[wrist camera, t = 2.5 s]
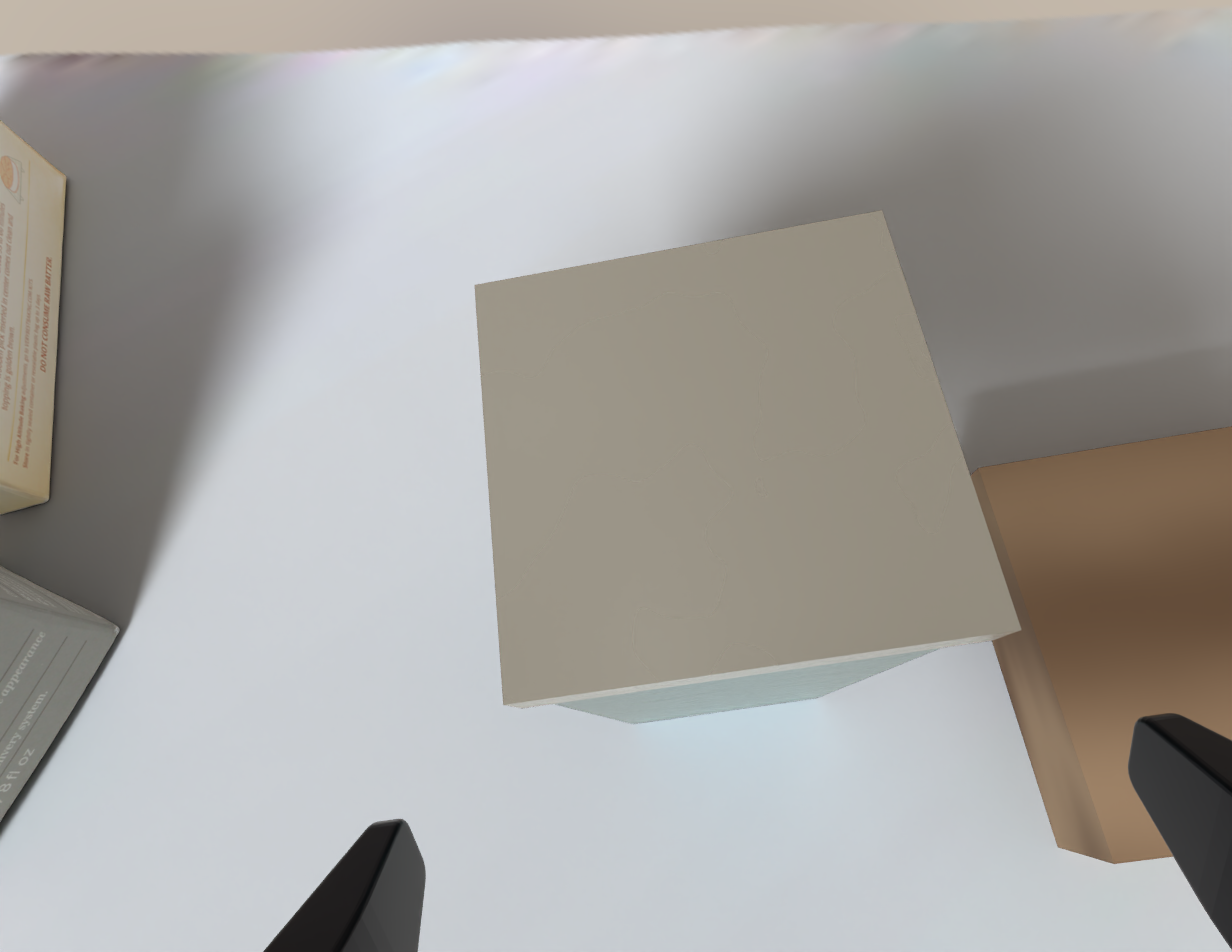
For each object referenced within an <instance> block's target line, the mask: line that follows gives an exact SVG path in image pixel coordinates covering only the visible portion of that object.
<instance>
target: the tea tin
mask: <svg viewBox="0 0 1232 952" xmlns="http://www.w3.org/2000/svg"><path fill="white" fill-rule="evenodd" d="M475 299H476V313H477V328H478V342H479V357H480V371H481V386H482V401H483V415H484V430H485V444H486V459H487V474H488V488H489V503H490V517H491V532H492V547H493V561H494V576H495V590H496V605H497V620H498V634H499V649H500V663H501V678H502V693H503V705H506V706H511V707H517V708H529V707H536V706H543V705H550V704H555V705H559V706H563V707H567V708H571V709H575V710H579V711H583V712H587V713H591V714H595V715H599V716H603V717H607V718H611V719H615V720H619V721H623V722H627V723H631V724H638V723H645V722H652V721H659V720H666V719H673V718H680V717H687V716H694V715H701V714H708V713H715V712H723V711H730V710H737V709H744V708H751V707H758V706H765V705H772V704H779V703H786V702H793V701H800V700H807V699H815V698H819V697H821V696H824V695H826V694H829V693H831V692H834V691H836V690H839V689H841V688H844V687H846V686H849V685H851V684H854V683H856V682H859V681H861V680H864V679H866V678H868V677H871V676H873V675H876V674H878V673H881V672H883V671H886V670H888V669H891V668H893V667H896V666H898V665H901V664H903V663H906V662H908V661H911V660H913V659H916V658H918V657H921V656H923V655H926V654H928V653H931V652H933V651H935V650H938V649H940V648H945V647H952V646H959V645H966V644H973V643H980V642H987V641H992V640H995V639H998V638H1001V637H1003V636H1006V635H1009V634H1012V633H1015V632H1017V631H1020V630H1021V627H1020V624H1019V621H1018V618H1017V615H1016V611H1015V608H1014V605H1013V602H1012V599H1011V596H1010V593H1009V590H1008V587H1007V584H1006V581H1005V578H1004V575H1003V572H1002V569H1001V566H1000V563H999V560H998V557H997V554H996V551H995V548H994V545H993V542H992V539H991V536H990V533H989V530H988V527H987V524H986V521H985V518H984V515H983V512H982V509H981V506H980V503H979V500H978V497H977V494H976V491H975V488H974V485H973V482H972V479H971V476H970V473H969V470H968V467H967V464H966V461H965V458H964V455H963V452H962V449H961V446H960V443H959V440H958V437H957V434H956V431H955V428H954V425H953V422H952V419H951V416H950V413H949V410H948V407H947V404H946V401H945V398H944V395H943V392H942V389H941V386H940V383H939V380H938V377H937V374H936V371H935V368H934V365H933V362H932V359H931V356H930V353H929V350H928V347H927V344H926V341H925V338H924V335H923V332H922V329H921V326H920V323H919V320H918V317H917V314H916V311H915V308H914V305H913V302H912V299H911V296H910V293H909V290H908V287H907V284H906V281H905V278H904V275H903V272H902V269H901V266H900V263H899V260H898V257H897V254H896V251H895V248H894V245H893V242H892V239H891V235H890V232H889V229H888V226H887V223H886V220H885V217H884V214H883V211H882V210H880V211H875V212H869V213H864V214H858V215H853V216H847V217H842V218H837V219H831V220H826V221H820V222H815V223H809V224H804V225H799V226H793V227H788V228H782V229H777V230H771V231H766V232H761V233H755V234H750V235H744V236H739V237H733V238H728V239H723V240H717V241H712V242H706V243H701V244H695V245H690V246H685V247H679V248H674V249H668V250H663V251H657V252H652V253H647V254H641V255H636V256H630V257H625V258H619V259H614V260H609V261H603V262H598V263H592V264H587V265H581V266H576V267H570V268H565V269H560V270H554V271H549V272H543V273H538V274H532V275H527V276H522V277H516V278H511V279H505V280H500V281H494V282H489V283H484V284H478V285H475Z"/></svg>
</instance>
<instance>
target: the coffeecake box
mask: <svg viewBox="0 0 1232 952" xmlns="http://www.w3.org/2000/svg"><path fill="white" fill-rule="evenodd" d="M65 190H66V176H65V175H64V174H63V173H62V172H60V171H59V170H57V169H56V168H55V167H54V166H53V165H51V164H50V163H49V162H48V161H47V160H46V159H44V158H43V157H42V156H41V155H40V154H39V153H38V152H36V151H35V150H34V149H33V148H32V147H31V146H29V145H28V144H27V143H26V142H25V141H24V140H22V139H21V138H20V137H19V136H18V135H17V134H15V133H14V132H13V131H12V130H11V129H10V128H8V127H7V126H6V125H5V124H4V123H3V122H2V121H1V120H0V515H1V514H5V513H8V512H12V511H16V510H20V509H24V508H27V507H30V506H34V505H37V504H41V503H45V502H47V501H48V500H49V488H50V465H51V446H52V428H53V413H54V388H55V373H56V357H57V337H58V316H59V299H60V283H61V266H62V241H63V230H64V208H65Z"/></svg>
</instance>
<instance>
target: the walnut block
mask: <svg viewBox="0 0 1232 952" xmlns="http://www.w3.org/2000/svg"><path fill="white" fill-rule="evenodd" d="M971 479H972V482H973V485H974V488H975V491H976V494H977V497H978V500H979V503H980V506H981V509H982V512H983V515H984V518H985V521H986V524H987V527H988V530H989V533H990V536H991V539H992V542H993V545H994V548H995V551H996V554H997V557H998V560H999V563H1000V566H1001V569H1002V572H1003V575H1004V578H1005V581H1006V584H1007V587H1008V590H1009V593H1010V596H1011V599H1012V602H1013V605H1014V608H1015V611H1016V615H1017V618H1018V621H1019V624H1020V627H1021V630H1020V631H1017V632H1015V633H1012V634H1009V635H1006V636H1003V637H1001V638H998V639H995V640H992V642H993V646H994V649H995V652H996V655H997V658H998V661H999V664H1000V667H1001V671H1002V674H1003V677H1004V680H1005V683H1006V686H1007V689H1008V692H1009V696H1010V699H1011V702H1012V705H1013V708H1014V711H1015V714H1016V718H1017V721H1018V724H1019V727H1020V730H1021V733H1022V736H1023V739H1024V743H1025V746H1026V749H1027V752H1028V755H1029V758H1030V761H1031V765H1032V768H1033V771H1034V774H1035V777H1036V780H1037V783H1038V786H1039V790H1040V793H1041V796H1042V799H1043V802H1044V805H1045V808H1046V812H1047V815H1048V818H1049V821H1050V824H1051V827H1052V830H1053V833H1054V837H1055V840H1056V843H1057V846H1058V847H1059V848H1062V849H1066V850H1069V851H1072V852H1076V853H1079V854H1082V855H1086V856H1089V857H1093V858H1096V859H1099V860H1103V861H1106V862H1109V863H1113V864H1117V863H1125V862H1133V861H1141V860H1149V859H1157V858H1165V857H1173V855H1172V853H1171V851H1170V850H1169V848H1168V846H1167V845H1166V843H1165V841H1164V839H1163V838H1162V836H1161V834H1160V833H1159V831H1158V829H1157V827H1156V826H1155V824H1154V822H1153V821H1152V819H1151V817H1150V815H1149V814H1148V812H1147V810H1146V809H1145V807H1144V805H1143V803H1142V802H1141V800H1140V798H1139V797H1138V795H1137V793H1136V791H1135V790H1134V788H1133V786H1132V783H1131V781H1130V778H1129V774H1128V760H1129V754H1130V748H1131V742H1132V736H1133V730H1134V725H1135V722H1136V721H1137V720H1138V719H1139V718H1141V717H1143V716H1151V715H1158V714H1165V713H1175V714H1179V715H1182V716H1184V717H1186V718H1188V719H1190V720H1192V721H1194V722H1196V723H1198V724H1200V725H1202V726H1204V727H1206V728H1208V729H1210V730H1212V731H1214V732H1216V733H1218V734H1220V735H1222V736H1224V737H1226V738H1228V739H1230V740H1232V427H1226V428H1219V429H1213V430H1207V431H1201V432H1195V433H1189V434H1183V435H1177V436H1171V437H1164V438H1158V439H1152V440H1146V441H1140V442H1134V443H1128V444H1122V445H1116V446H1109V447H1103V448H1097V449H1091V450H1085V451H1079V452H1073V453H1067V454H1061V455H1054V456H1048V457H1042V458H1036V459H1030V460H1024V461H1018V462H1012V463H1006V464H1000V465H993V466H987V467H981V468H978V469H977V470H976V471H975V472H974V473H973V474H972V475H971Z"/></svg>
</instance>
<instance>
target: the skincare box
mask: <svg viewBox="0 0 1232 952" xmlns="http://www.w3.org/2000/svg"><path fill="white" fill-rule="evenodd" d="M119 630H120V629H119V628H118V626H116V625H115V624H114V623H112V622H110V621H108V620H107V619H105V618H103V617H101V616H99V615H97V614H95V613H93V612H91V611H89V610H87V609H85V608H83V607H81V606H79V605H77V604H75V603H73V602H71V601H69V600H67V599H65V598H63V597H61V596H59V595H57V594H55V593H53V592H51V591H48V590H46V589H44V588H42V587H40V586H38V585H37V584H35V583H33V582H31V581H29V580H27V579H25V578H23V577H21V576H19V575H17V574H16V573H14V572H12V571H10V570H8V569H6V568H4V567H2V566H0V822H1V820H2V818H3V817H4V815H5V813H6V812H7V811H8V809H9V808H10V806H11V805H12V803H13V802H14V800H15V799H16V797H17V795H18V794H19V792H20V791H21V789H22V788H23V786H24V785H25V783H26V782H27V780H28V779H29V777H30V776H31V774H32V773H33V771H34V770H35V768H36V766H37V765H38V763H39V762H40V760H41V759H42V757H43V756H44V754H45V753H46V751H47V749H48V748H49V746H50V745H51V743H52V742H53V740H54V738H55V737H56V735H57V734H58V732H59V730H60V729H61V727H62V725H63V724H64V722H65V721H66V720H67V718H68V716H69V715H70V713H71V711H72V710H73V708H74V706H75V705H76V703H77V701H78V700H79V698H80V697H81V695H82V694H83V692H84V690H85V688H86V686H87V685H88V684H89V682H90V680H91V679H92V677H93V675H94V674H95V672H96V670H97V669H98V667H99V665H100V664H101V662H102V660H103V658H104V657H105V655H106V653H107V651H108V650H109V648H110V647H111V645H112V644H113V642H114V640H115V638H116V636H117V634H118V633H119Z"/></svg>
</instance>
